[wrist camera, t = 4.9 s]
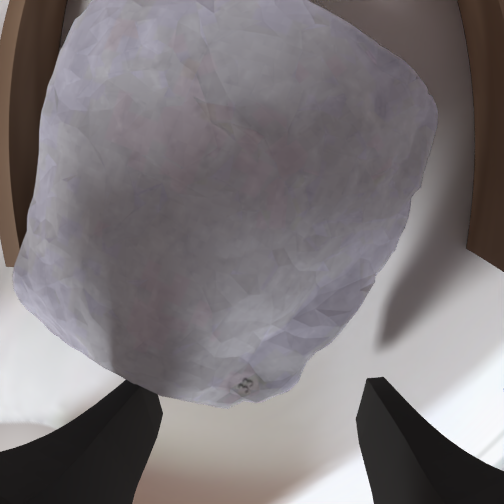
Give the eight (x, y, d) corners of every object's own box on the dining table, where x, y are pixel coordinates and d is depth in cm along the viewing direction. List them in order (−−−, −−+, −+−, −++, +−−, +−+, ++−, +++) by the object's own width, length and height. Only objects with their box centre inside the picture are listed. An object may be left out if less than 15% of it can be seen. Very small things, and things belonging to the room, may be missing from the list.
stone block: (397, 97, 10) (145, -12, 7) (488, 100, 5) (104, -78, 3) (268, 348, 14) (53, 277, 11) (287, 435, 9) (-1, 349, 7)
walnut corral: (455, -56, 5) (480, -80, 3) (484, 248, 9) (524, 272, 7) (63, -45, 6) (33, -65, 4) (46, 245, 10) (6, 266, 8)
